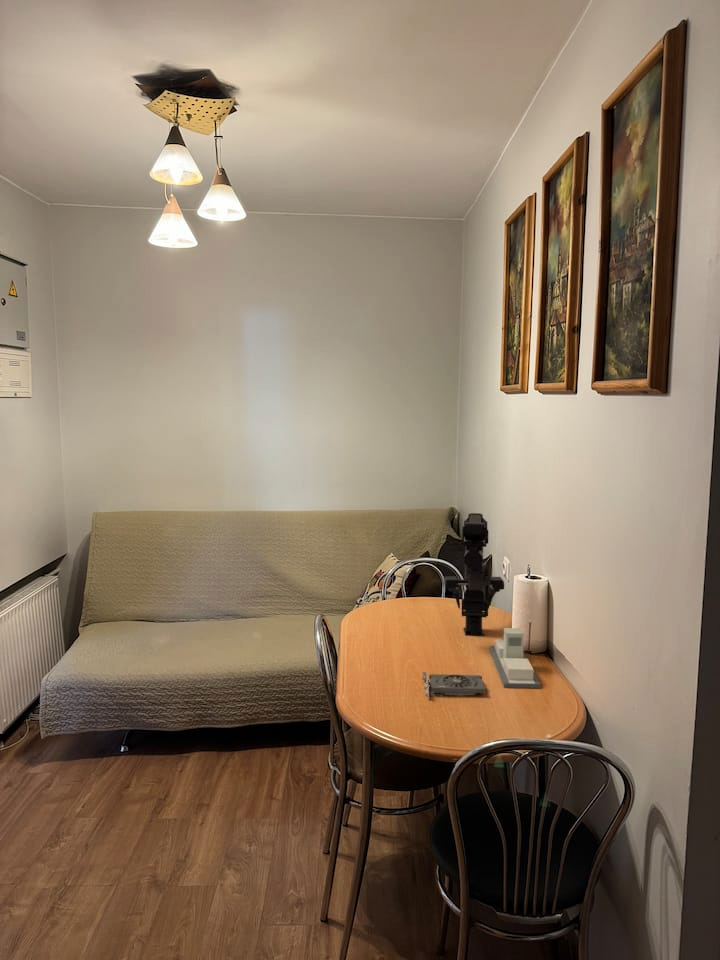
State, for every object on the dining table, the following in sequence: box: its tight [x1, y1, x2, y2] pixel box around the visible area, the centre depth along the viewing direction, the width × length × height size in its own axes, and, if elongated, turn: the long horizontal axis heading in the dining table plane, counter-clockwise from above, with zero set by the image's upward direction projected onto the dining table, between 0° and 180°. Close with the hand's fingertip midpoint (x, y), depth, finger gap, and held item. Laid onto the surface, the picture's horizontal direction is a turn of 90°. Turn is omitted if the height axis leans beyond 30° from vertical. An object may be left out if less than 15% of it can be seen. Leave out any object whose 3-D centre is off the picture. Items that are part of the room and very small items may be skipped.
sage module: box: [503, 627, 525, 658], centre depth 188 cm, size 5×5×10 cm
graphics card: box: [421, 671, 487, 701], centre depth 173 cm, size 17×4×12 cm
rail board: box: [488, 638, 541, 689], centre depth 188 cm, size 28×10×4 cm, turn 177°
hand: (473, 608), depth 203 cm, fingers open, 9 cm apart
